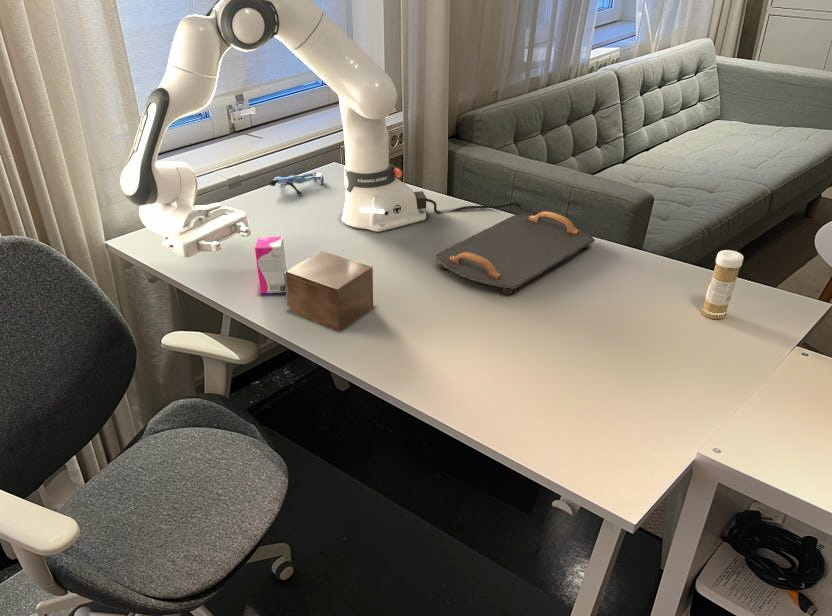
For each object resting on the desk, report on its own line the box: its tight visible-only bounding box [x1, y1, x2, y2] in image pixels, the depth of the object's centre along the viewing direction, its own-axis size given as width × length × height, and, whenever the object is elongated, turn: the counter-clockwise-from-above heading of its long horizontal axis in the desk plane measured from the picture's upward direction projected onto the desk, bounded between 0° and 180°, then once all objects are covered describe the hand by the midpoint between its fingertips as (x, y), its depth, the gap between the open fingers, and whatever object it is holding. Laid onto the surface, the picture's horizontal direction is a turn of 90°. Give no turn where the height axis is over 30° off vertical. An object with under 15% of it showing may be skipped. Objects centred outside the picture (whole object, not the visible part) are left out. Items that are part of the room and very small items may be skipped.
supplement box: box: [254, 236, 287, 296], centre depth 155 cm, size 6×6×12 cm
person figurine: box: [268, 172, 325, 197], centre depth 207 cm, size 11×4×18 cm
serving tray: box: [434, 210, 596, 296], centre depth 165 cm, size 39×23×6 cm, turn 134°
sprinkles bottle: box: [701, 249, 745, 320], centre depth 140 cm, size 5×5×13 cm
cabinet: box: [286, 250, 374, 332], centre depth 147 cm, size 14×12×10 cm
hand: (233, 240), depth 160 cm, fingers open, 8 cm apart
